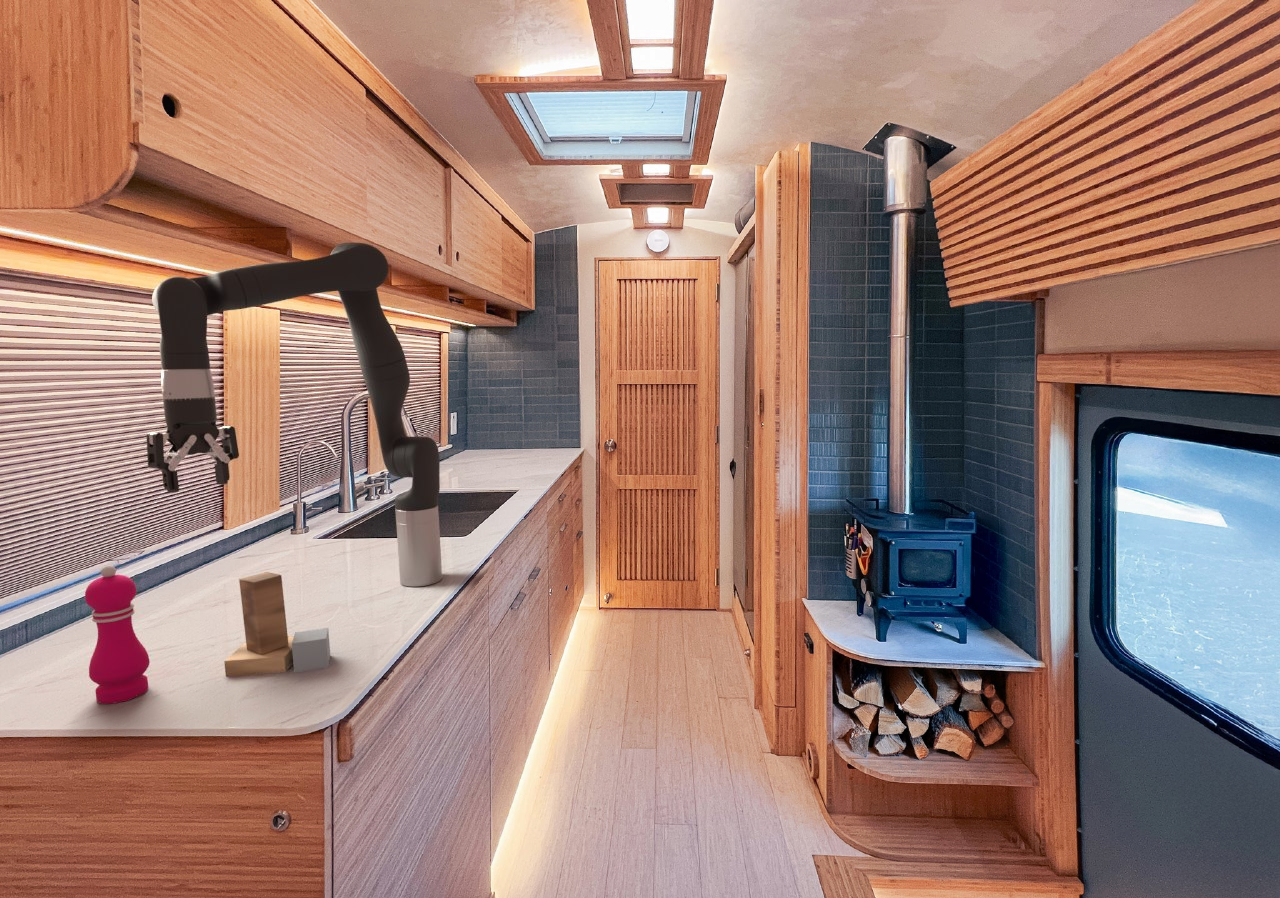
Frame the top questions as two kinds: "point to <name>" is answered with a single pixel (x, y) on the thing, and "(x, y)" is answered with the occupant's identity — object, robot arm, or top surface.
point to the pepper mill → (116, 640)
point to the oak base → (259, 661)
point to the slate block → (311, 650)
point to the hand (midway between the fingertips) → (198, 488)
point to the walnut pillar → (263, 612)
